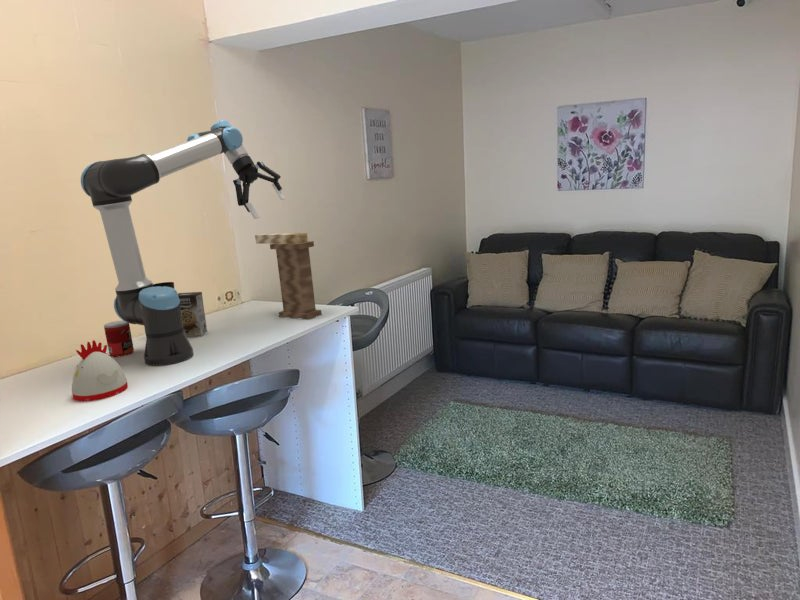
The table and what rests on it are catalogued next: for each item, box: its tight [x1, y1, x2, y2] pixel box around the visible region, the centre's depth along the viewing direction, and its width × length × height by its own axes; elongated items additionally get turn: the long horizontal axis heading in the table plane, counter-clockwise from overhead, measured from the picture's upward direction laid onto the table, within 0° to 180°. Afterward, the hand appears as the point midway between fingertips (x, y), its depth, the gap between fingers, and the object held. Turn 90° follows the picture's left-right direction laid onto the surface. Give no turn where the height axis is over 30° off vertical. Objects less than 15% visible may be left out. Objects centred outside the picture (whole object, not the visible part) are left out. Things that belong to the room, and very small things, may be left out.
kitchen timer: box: [71, 339, 128, 402], centre depth 163 cm, size 14×14×15 cm
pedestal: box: [269, 240, 322, 320], centre depth 235 cm, size 16×8×30 cm, turn 58°
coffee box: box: [178, 291, 208, 338], centre depth 219 cm, size 9×6×16 cm
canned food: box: [103, 320, 135, 358], centre depth 202 cm, size 8×8×11 cm
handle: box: [254, 232, 309, 245], centre depth 235 cm, size 24×6×4 cm, turn 58°
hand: (270, 208), depth 220 cm, fingers open, 13 cm apart
